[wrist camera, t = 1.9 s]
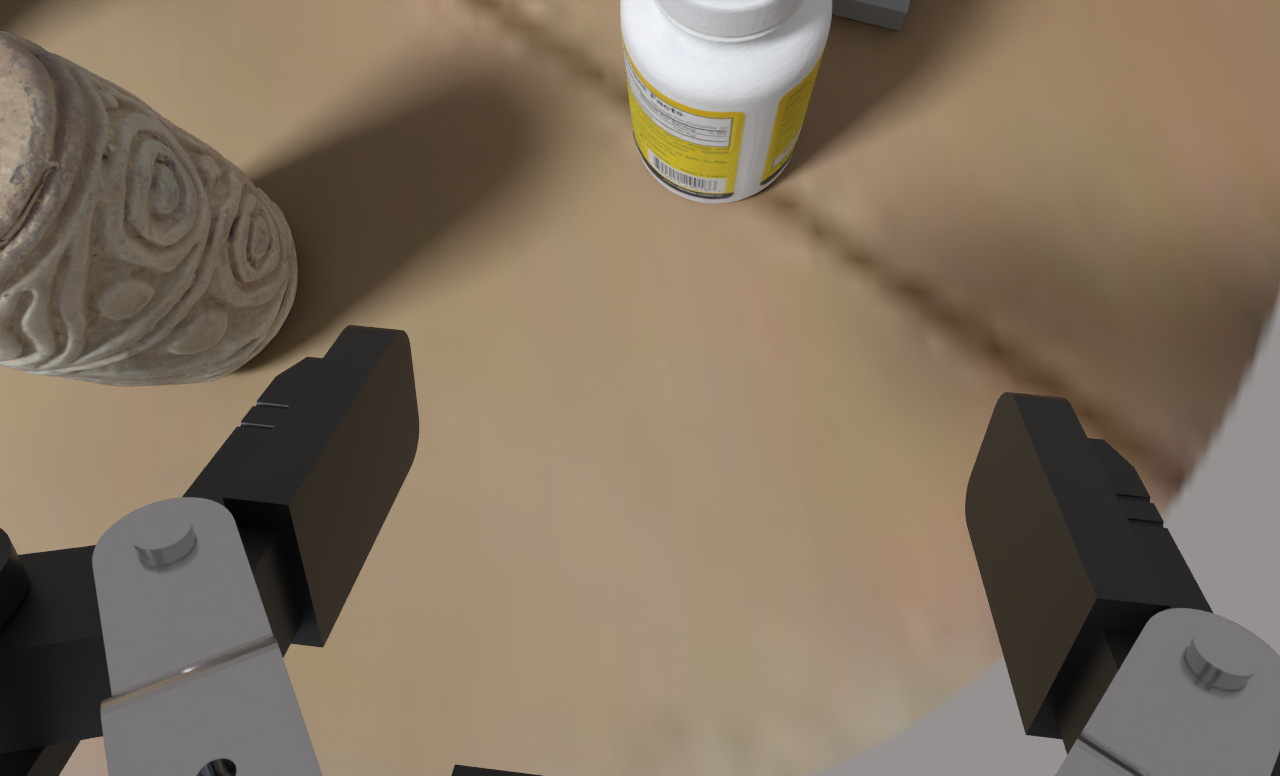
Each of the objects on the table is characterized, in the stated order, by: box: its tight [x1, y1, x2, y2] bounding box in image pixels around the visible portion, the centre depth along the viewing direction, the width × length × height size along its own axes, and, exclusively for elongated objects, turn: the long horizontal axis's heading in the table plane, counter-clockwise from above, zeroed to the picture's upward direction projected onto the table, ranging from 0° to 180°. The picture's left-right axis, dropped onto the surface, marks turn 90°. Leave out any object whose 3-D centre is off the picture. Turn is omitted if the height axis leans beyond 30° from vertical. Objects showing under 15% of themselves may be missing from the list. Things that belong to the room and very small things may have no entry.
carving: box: [0, 31, 298, 387], centre depth 23 cm, size 6×8×12 cm
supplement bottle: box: [620, 0, 832, 204], centre depth 24 cm, size 5×5×10 cm
